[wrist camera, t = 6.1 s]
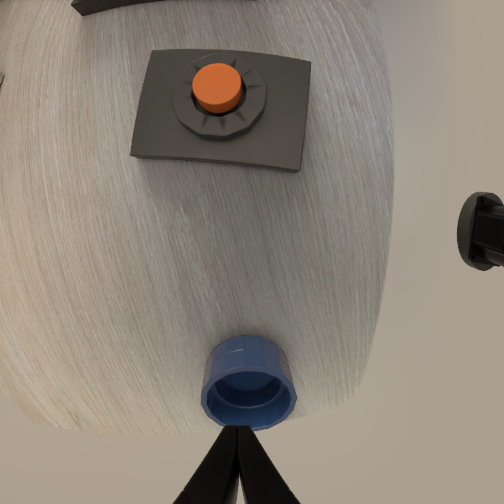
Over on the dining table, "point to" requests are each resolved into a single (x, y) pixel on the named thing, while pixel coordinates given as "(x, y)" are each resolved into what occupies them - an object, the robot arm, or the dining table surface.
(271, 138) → the pad
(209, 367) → the small dish
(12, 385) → the dining table surface
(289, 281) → the dining table surface
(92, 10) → the scale
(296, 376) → the dining table surface
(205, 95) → the button
